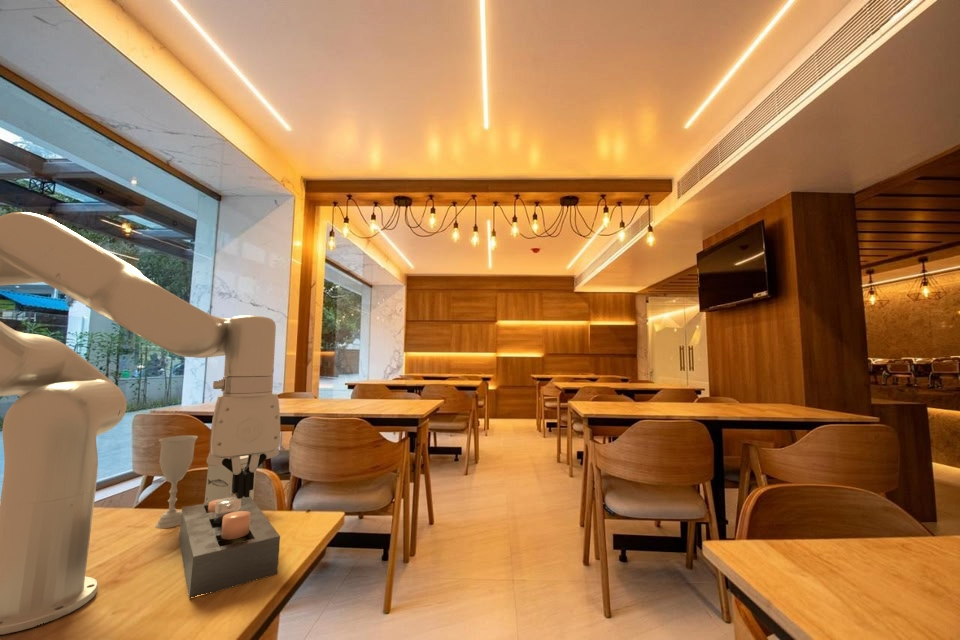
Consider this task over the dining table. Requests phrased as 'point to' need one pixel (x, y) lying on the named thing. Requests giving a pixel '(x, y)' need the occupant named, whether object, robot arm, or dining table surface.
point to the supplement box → (222, 482)
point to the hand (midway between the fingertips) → (242, 495)
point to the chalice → (174, 472)
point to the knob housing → (225, 550)
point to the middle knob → (226, 507)
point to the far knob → (212, 506)
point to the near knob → (235, 525)
